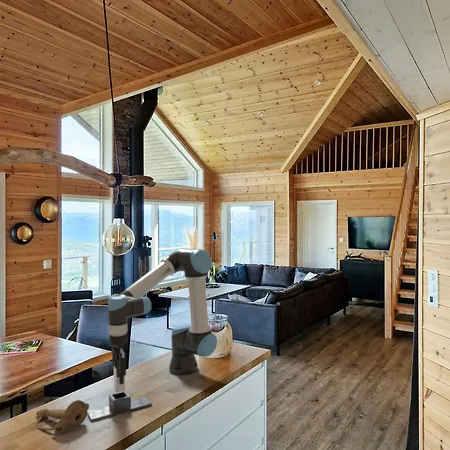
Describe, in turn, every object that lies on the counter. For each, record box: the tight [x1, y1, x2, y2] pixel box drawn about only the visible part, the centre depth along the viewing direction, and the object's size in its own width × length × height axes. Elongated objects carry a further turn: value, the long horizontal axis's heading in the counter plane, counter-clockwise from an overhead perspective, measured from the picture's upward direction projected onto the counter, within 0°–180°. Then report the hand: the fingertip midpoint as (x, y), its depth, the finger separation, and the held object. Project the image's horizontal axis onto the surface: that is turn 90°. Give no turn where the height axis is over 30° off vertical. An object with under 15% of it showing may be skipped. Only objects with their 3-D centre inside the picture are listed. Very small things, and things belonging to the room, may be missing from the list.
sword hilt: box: [35, 399, 90, 434], centre depth 160 cm, size 10×24×15 cm
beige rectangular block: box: [113, 365, 126, 393], centre depth 170 cm, size 4×4×10 cm
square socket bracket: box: [87, 389, 153, 423], centre depth 170 cm, size 25×8×6 cm, turn 121°
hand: (119, 389), depth 170 cm, fingers closed on beige rectangular block, 4 cm apart
